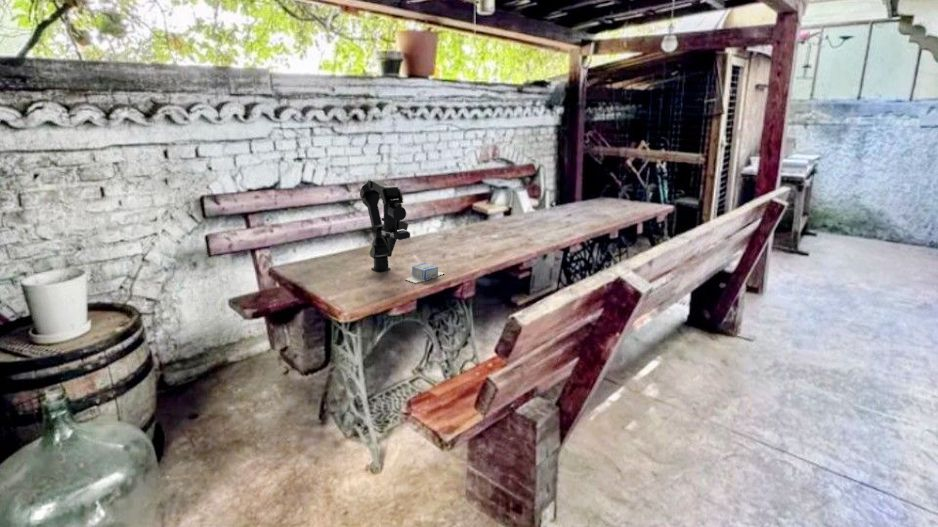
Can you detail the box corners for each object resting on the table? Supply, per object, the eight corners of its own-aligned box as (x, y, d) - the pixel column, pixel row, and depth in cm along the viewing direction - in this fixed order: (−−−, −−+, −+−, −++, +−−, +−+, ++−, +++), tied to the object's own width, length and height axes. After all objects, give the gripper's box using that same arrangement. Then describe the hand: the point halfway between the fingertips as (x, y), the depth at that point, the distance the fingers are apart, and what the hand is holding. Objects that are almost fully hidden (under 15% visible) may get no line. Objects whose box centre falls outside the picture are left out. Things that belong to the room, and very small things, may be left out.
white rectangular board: (404, 280, 221) (404, 279, 220) (434, 271, 234) (434, 270, 233) (415, 283, 217) (415, 282, 216) (444, 274, 229) (444, 273, 229)
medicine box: (424, 262, 229) (438, 266, 224) (424, 272, 231) (438, 276, 225) (411, 266, 224) (425, 270, 218) (411, 276, 225) (425, 280, 219)
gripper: (419, 216, 215) (419, 252, 220) (390, 209, 227) (391, 243, 231) (399, 220, 207) (400, 257, 211) (370, 213, 218) (371, 248, 223)
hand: (391, 251), depth 220 cm, fingers closed
